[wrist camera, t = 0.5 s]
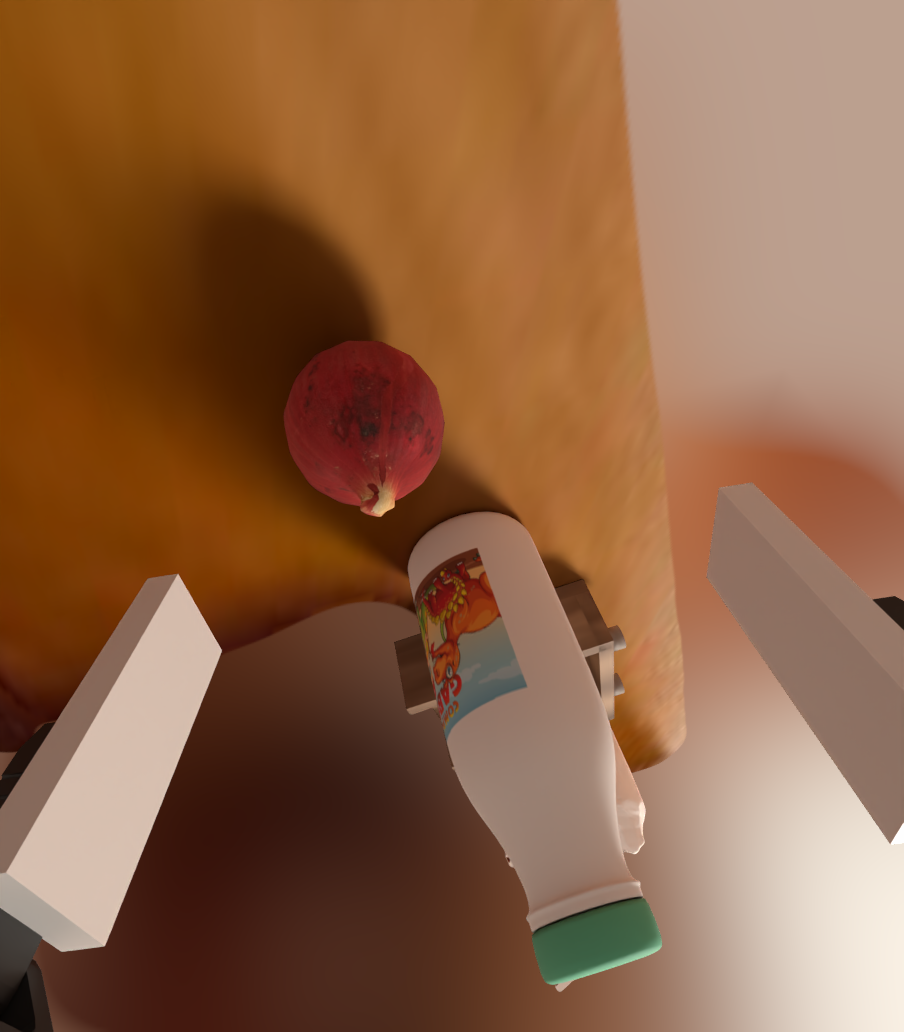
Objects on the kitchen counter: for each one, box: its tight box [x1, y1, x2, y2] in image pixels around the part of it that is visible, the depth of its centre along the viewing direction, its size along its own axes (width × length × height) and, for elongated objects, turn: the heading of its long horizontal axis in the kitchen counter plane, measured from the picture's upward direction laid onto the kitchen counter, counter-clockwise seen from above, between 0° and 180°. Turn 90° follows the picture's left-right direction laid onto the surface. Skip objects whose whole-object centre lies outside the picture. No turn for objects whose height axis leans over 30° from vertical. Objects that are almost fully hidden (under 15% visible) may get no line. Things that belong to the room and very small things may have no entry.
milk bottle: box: [408, 512, 662, 984], centre depth 26 cm, size 8×8×20 cm
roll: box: [611, 729, 646, 854], centre depth 58 cm, size 6×12×6 cm
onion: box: [284, 341, 445, 517], centre depth 20 cm, size 6×6×8 cm
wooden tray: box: [394, 579, 626, 771], centre depth 42 cm, size 14×15×5 cm
